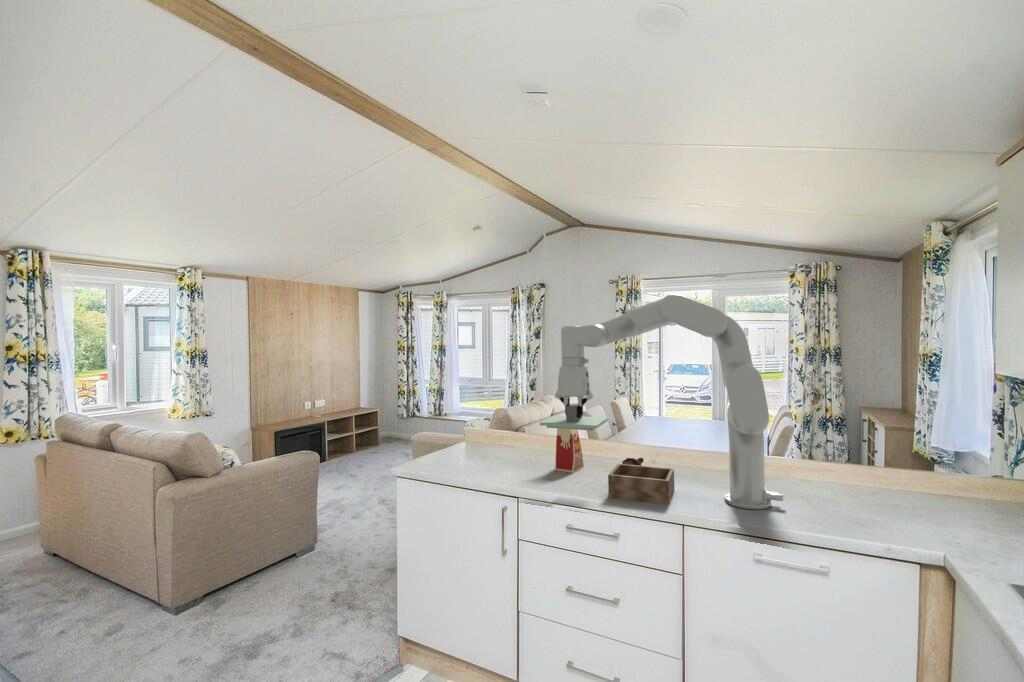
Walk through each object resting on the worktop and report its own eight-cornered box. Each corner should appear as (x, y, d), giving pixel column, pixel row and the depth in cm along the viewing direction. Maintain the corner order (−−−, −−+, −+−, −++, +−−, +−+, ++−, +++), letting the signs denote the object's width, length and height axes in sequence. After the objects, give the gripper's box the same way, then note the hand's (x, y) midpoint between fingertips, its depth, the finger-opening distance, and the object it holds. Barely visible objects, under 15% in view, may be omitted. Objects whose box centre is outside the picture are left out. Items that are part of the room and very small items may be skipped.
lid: (607, 423, 163) (607, 403, 163) (596, 432, 149) (595, 409, 149) (555, 420, 171) (554, 401, 171) (539, 428, 157) (539, 407, 157)
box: (674, 493, 154) (674, 468, 154) (669, 508, 141) (668, 481, 141) (618, 487, 161) (618, 463, 161) (608, 500, 148) (608, 474, 148)
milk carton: (583, 467, 187) (582, 416, 187) (573, 473, 179) (572, 420, 179) (562, 464, 192) (561, 414, 192) (552, 470, 184) (550, 418, 184)
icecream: (632, 465, 165) (652, 460, 176) (614, 456, 170) (635, 452, 181) (627, 484, 166) (647, 477, 177) (609, 475, 171) (630, 469, 182)
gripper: (599, 361, 160) (601, 416, 160) (553, 361, 167) (554, 414, 167) (593, 363, 153) (595, 420, 153) (546, 363, 160) (547, 418, 160)
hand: (574, 416), depth 160 cm, fingers closed on lid, 3 cm apart
